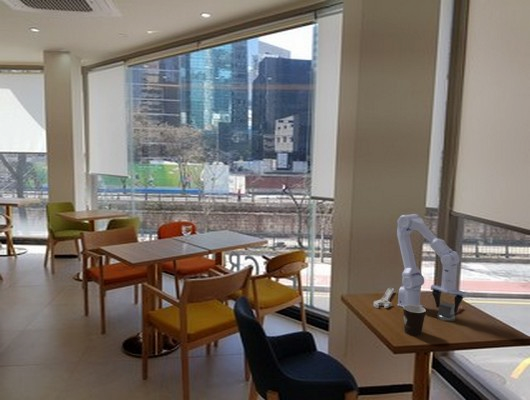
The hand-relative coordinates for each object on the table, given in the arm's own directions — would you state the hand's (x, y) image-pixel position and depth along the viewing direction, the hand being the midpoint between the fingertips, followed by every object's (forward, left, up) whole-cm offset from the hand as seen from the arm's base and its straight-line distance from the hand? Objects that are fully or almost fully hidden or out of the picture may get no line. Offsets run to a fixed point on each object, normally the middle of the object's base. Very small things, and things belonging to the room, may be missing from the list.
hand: (446, 309), depth 184 cm
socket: (0, 0, -3) cm, 3 cm away
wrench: (-27, +5, -3) cm, 28 cm away
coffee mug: (-5, -24, -4) cm, 25 cm away
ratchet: (0, +7, -4) cm, 8 cm away
